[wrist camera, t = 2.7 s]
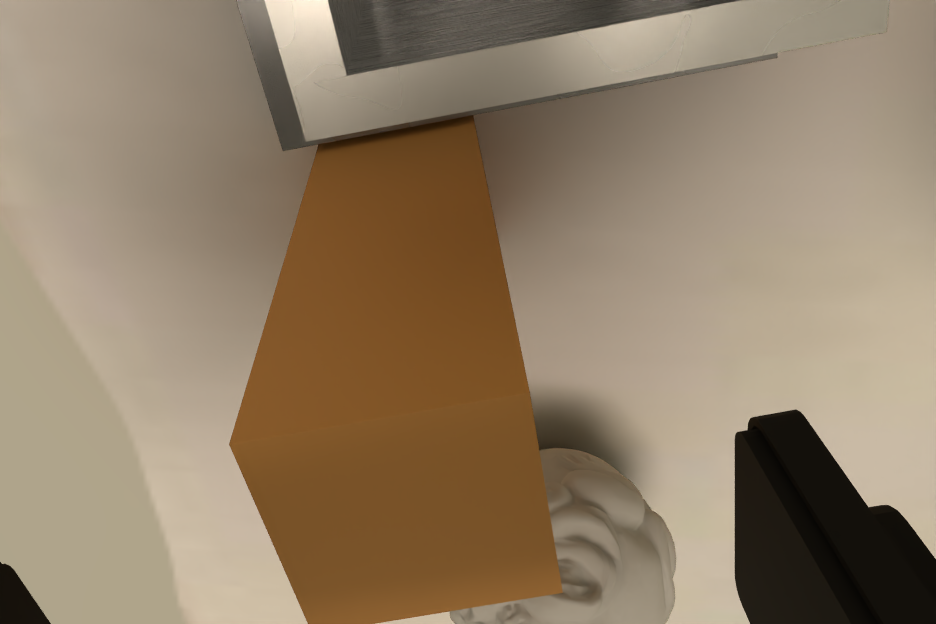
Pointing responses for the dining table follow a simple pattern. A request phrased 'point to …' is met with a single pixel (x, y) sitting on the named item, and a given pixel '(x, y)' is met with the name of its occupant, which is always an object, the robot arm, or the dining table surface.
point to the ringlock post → (506, 52)
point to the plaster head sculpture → (595, 551)
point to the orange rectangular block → (396, 392)
